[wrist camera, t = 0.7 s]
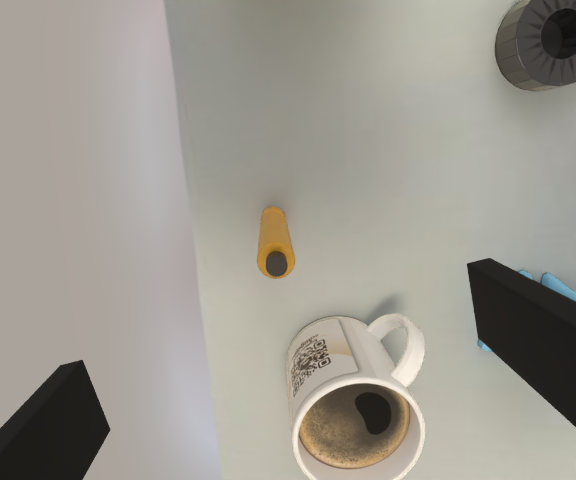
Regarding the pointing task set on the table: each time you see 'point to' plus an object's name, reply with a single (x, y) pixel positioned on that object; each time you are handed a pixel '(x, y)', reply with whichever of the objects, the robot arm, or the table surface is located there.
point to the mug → (354, 399)
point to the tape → (538, 44)
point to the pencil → (275, 245)
